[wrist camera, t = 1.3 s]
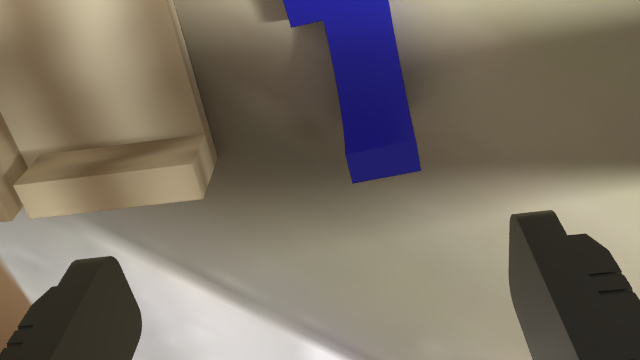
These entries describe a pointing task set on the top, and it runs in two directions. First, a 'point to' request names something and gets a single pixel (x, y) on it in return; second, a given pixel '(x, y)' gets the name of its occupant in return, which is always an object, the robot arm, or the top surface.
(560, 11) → the top surface
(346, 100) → the cable clip
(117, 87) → the notched board
